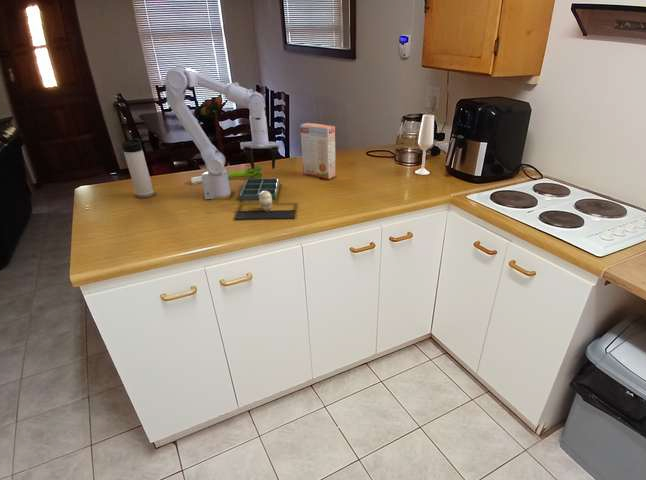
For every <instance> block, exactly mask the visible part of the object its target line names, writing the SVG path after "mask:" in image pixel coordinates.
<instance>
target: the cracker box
mask: <svg viewBox="0 0 646 480" xmlns="http://www.w3.org/2000/svg"><path fill="white" fill-rule="evenodd" d="M300 140H301V141H300V143H301V158H302V159H301V161H302V175H304V176H315V177H319V178H321V179H324V180H330V179H333V178H335V177H336V126H335V125H327V124H321V123H312V122H306V123H301V124H300Z"/></svg>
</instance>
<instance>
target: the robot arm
mask: <svg viewBox="0 0 646 480" xmlns="http://www.w3.org/2000/svg"><path fill="white" fill-rule="evenodd" d="M199 86H200V87H203V88H205V89H208V90H211V91H213V92H216V93H219V94H221V95H223V96H224V97H225V99H226V100H227V101H228V102H231V103H234V104H236V105H238V106H241V107H244V108H248V109H249V124H250V132H251V141H241V142H240V143H239V145H240V150H243V153H244V155H245V156H246V158H247V159H248V162H249V164H250V168H252V170H253V169H254V168H255V160H254V152H253V149H270V157H271V168H272V170H274V169H275V167H276V158H277V155H278V151H279V150H281V149H282V142H281V141H270V140H269V134H268V133H269V132H268V124H267V123H268V122H267V116H266V110H265V107H266V101H265V98H264V96H263V94H261V93H260V92H258V91H256V90H255V91H254V90H253V89H252V88H249V89H248V88H245V87H243V86H241V85H240V83H239V82H237V81H235V82H229V83H227V84H225V83H223V82H221V81H219V80H218V79H215V78H213V77H211V76H208V75H206V74H204V73H203V72H199V71H196V70H194V69H191V68H185V67H184V66H182V65H176V66H175V67H172V68H171V69H169V70H167V72H166V75H165V79H164V87H165V93H166V94H165V95H166V102H167V104H168V106H169V107H170V109H171V110H172V112H173V113H174V115H175V116H176V118H177V120H178V121H179V123H180V124H181V125H182V127H183V128H184V130H185V131H186V133H187V134H188V136H189V137H190V138H191V140H192V142H193V143H194V145H195V146H196V147H197V149H198V150H199V152H200V155H201V158H202V161H204V164H205V169H206V172H202V174H201V176H202V188H203V189H202V190H203V194H204V200H214V199H215V198H224V197H228V196H230V195H231V186H230V178H228V173H229V172H228V170H227V168H226V167H225V165H226V163H227V162H226V161H227V160H226V157H225V155H224V154H223V153H222V152H220V151H219V149H218V148H217V147H216V146H215V145H214V144H213V143H212V142H211V140H210V139H209V137H208V136H207V134H206V133H205V131H204V130H203V128H202V126H201V125H200V123H199V122H198V121H197V119H196V117H195V116H194V114H193V113H192V110H190V107H189V106H188V105H187V103H186V102H185V99H186V98H185V97H186V91H187V89H188V88H194V87H199Z"/></svg>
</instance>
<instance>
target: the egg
mask: <svg viewBox="0 0 646 480" xmlns="http://www.w3.org/2000/svg"><path fill="white" fill-rule="evenodd" d="M258 201H259V207H260V208H261V210H262V211H271V209H272V208H273V207H274V206H273V205H274V204H273V200H272V195H271V193H270V192H268V191H262V192H261V193H260V194H259V200H258Z"/></svg>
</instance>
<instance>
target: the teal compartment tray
mask: <svg viewBox="0 0 646 480" xmlns="http://www.w3.org/2000/svg"><path fill="white" fill-rule="evenodd" d="M280 181H281V180H280V178H278V177H277V178H276V177H275V178H260V179H258V178H246V180H245V182H244V184H243V186H242V189H241V191H240V193H239V201H241V202H244V201H245V202H246V201H248V202H249V201H252V202H253V201H254V202H255V201H259V194H260V193H261V192H262V191H268V192H270V193H271V195H272V201H277V198H278V193H279V188H280V184H281V182H280Z"/></svg>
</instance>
